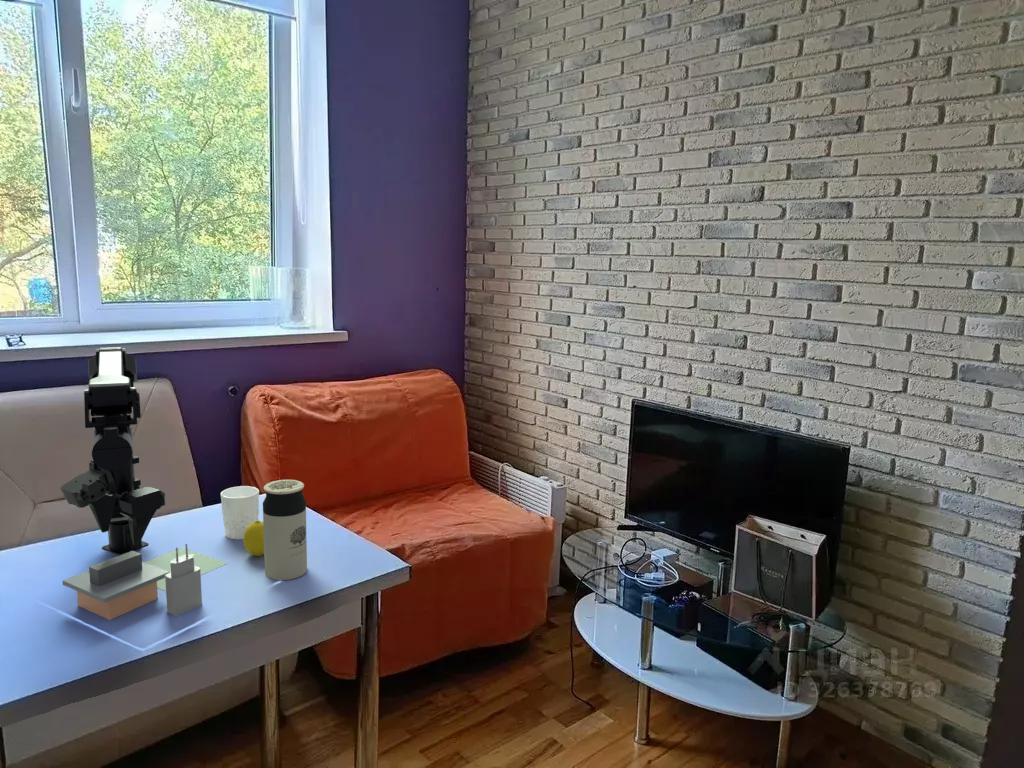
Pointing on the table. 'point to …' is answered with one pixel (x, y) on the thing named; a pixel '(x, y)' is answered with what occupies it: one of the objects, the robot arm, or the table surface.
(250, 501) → the white cup
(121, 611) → the dish
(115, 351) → the robot arm
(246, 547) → the lemon
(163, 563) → the mat
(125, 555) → the lid
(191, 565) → the power adapter
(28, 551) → the table surface
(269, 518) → the travel mug
